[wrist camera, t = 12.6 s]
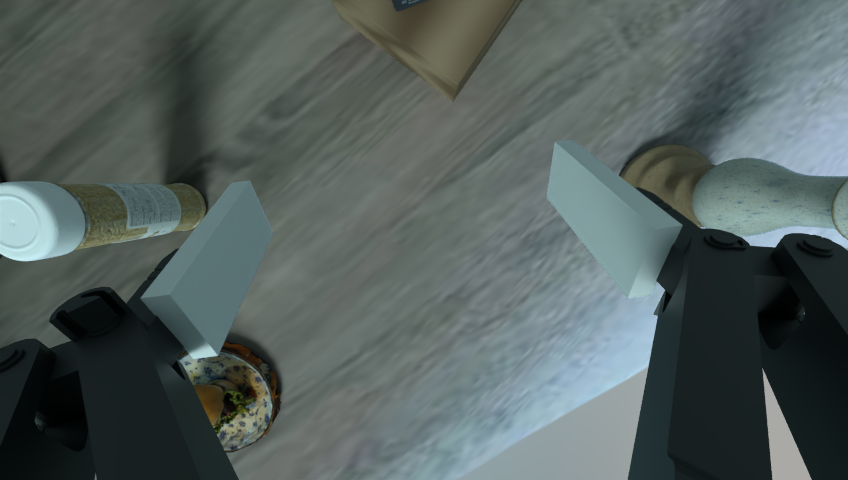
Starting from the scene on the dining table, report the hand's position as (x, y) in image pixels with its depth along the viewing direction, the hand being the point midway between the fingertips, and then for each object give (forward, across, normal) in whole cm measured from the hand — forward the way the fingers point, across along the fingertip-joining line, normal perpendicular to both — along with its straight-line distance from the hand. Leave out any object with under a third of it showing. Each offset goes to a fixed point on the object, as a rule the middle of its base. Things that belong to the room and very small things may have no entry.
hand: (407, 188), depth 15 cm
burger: (+8, -22, -25) cm, 34 cm away
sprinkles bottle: (+16, -21, -8) cm, 28 cm away
